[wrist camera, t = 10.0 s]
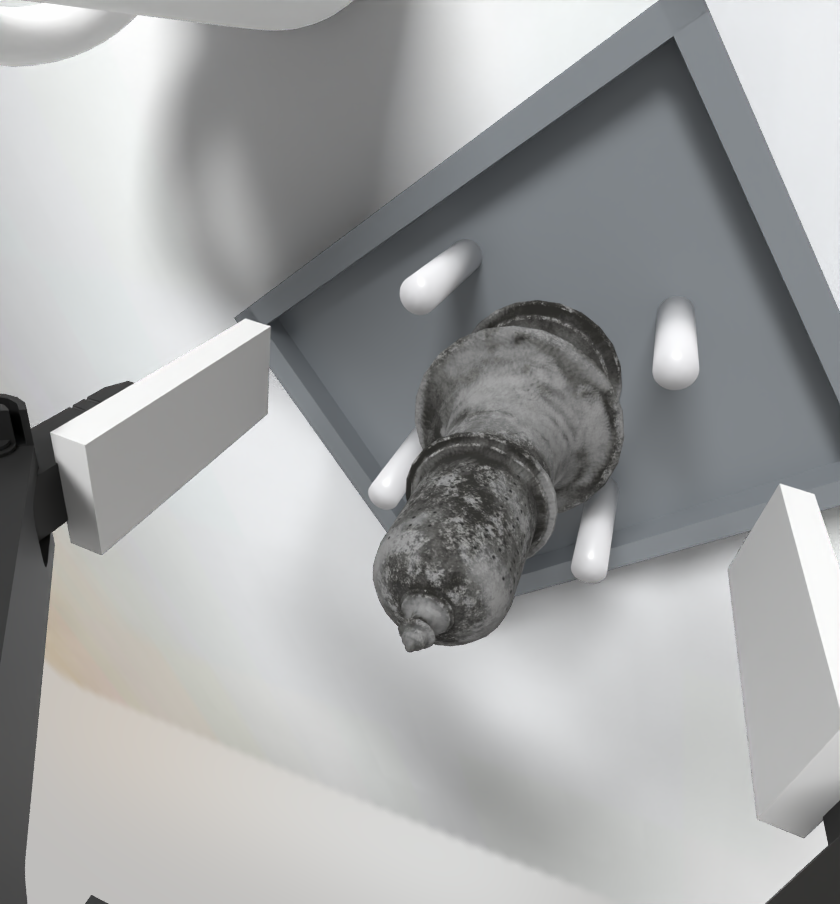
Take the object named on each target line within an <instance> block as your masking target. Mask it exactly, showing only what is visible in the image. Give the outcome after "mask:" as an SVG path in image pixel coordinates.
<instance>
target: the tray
mask: <svg viewBox="0 0 840 904" xmlns="http://www.w3.org/2000/svg"><path fill="white" fill-rule="evenodd" d="M533 300H541V301H548V302H555V303H561V304H563V305H566V306H568V307H570V308H573V309H575V310H577V311H580V312H582V313H583V314H584V315H586V316H587V317H588V318H590V319H591V320H592V321H593V322H595V323H596V324H597V325H598V326H600V327H601V329H602V330H603V332H604V333H605V334H606V336H607V337H608V338H609V340H610V341H611V342H612V344H613V346H614V348H615V351H616V354H617V356H618V359H619V362H620V364H621V377H622V389H621V393H620V397H619V402H620V405H621V407H622V410H623V422H624V442H623V446H622V450H621V454H620V458H619V462H618V464H617V466H616V468H615V469H614V471H613V473H612V474H611V476H610V478H609V479H608V481H607V482H606V484H605V485H604V486H603V487H602V488H601V489H600V490H599V491H597V492H596V493H595V494H594V495H593V496H592V497H591V498H590V499H589V500H587V501H586V502H584V503H582V504H580V505H578V506H576V507H574V508H572V509H570V510H568V511H566V512H562V513H558V514H557V518H556V523H555V527H554V531H553V532H552V534H551V536H550V538H549V539H548V541H547V543H546V544H545V545H544V546H543V547H542V548H541V549H540V550H539V551H538V552H537V553H535V554H534V555H533V556H532V557H530V558H528V559H526V561H525V564H524V567H523V571H522V574H521V577H520V580H519V583H518V586H517V589H516V593H515V596H518V595H522V594H526V593H529V592H533V591H536V590H540V589H543V588H547V587H551V586H554V585H558V584H561V583H565V582H569V581H572V580H576V579H578V580H580V581H582V582H584V583H589V584H594V583H598V582H601V581H602V580H603V579H604V578H605V577H606V575H607V571H608V570H611V569H615V568H619V567H622V566H626V565H629V564H633V563H637V562H640V561H644V560H647V559H651V558H654V557H658V556H662V555H665V554H669V553H672V552H676V551H679V550H683V549H687V548H690V547H694V546H697V545H701V544H705V543H708V542H712V541H715V540H719V539H722V538H726V537H730V536H733V535H737V534H740V533H744V532H747V531H751V530H752V528H753V527H754V525H755V523H756V522H757V520H758V518H759V517H760V515H761V513H762V512H763V510H764V508H765V507H766V505H767V503H768V502H769V500H770V498H771V497H772V495H773V494H774V492H775V490H776V489H777V487H778V485H779V484H783V485H786V486H790V487H793V488H796V489H799V490H803V491H806V492H809V493H812V494H815V497H816V500H817V503H818V506H819V509H820V511H823V510H826V509H830V508H833V507H837V506H840V311H839V309H838V307H837V305H836V302H835V300H834V298H833V295H832V293H831V291H830V288H829V286H828V284H827V281H826V279H825V277H824V275H823V272H822V270H821V268H820V265H819V263H818V261H817V258H816V256H815V254H814V251H813V249H812V247H811V245H810V242H809V240H808V238H807V235H806V233H805V231H804V228H803V226H802V224H801V221H800V219H799V217H798V215H797V212H796V210H795V208H794V205H793V203H792V201H791V198H790V196H789V194H788V191H787V189H786V187H785V185H784V182H783V180H782V178H781V175H780V173H779V171H778V168H777V166H776V164H775V161H774V159H773V157H772V155H771V152H770V150H769V148H768V145H767V143H766V141H765V138H764V136H763V134H762V131H761V129H760V127H759V125H758V122H757V120H756V118H755V115H754V113H753V111H752V108H751V106H750V104H749V101H748V99H747V97H746V95H745V92H744V90H743V88H742V85H741V83H740V81H739V78H738V76H737V74H736V71H735V69H734V67H733V64H732V62H731V60H730V58H729V55H728V53H727V51H726V48H725V46H724V44H723V41H722V39H721V37H720V34H719V32H718V30H717V28H716V25H715V23H714V21H713V18H712V16H711V14H710V11H709V9H708V7H707V4H706V2H705V0H659V1H657V2H656V3H655V4H653V5H652V6H651V7H649V8H648V9H647V10H645V11H644V12H643V13H641V14H640V15H639V16H637V17H636V18H635V19H633V20H632V21H631V22H629V23H628V24H627V25H625V26H624V27H623V28H621V29H620V30H619V31H617V32H616V33H615V34H613V35H612V36H611V37H609V38H608V39H607V40H605V41H604V42H603V43H601V44H600V45H599V46H597V47H596V48H595V49H593V50H592V51H591V52H589V53H588V54H587V55H585V56H584V57H583V58H581V59H580V60H579V61H577V62H576V63H574V64H573V65H572V66H570V67H569V68H568V69H566V70H565V71H564V72H562V73H561V74H560V75H558V76H557V77H556V78H554V79H553V80H552V81H550V82H549V83H548V84H546V85H545V86H544V87H542V88H541V89H540V90H538V91H537V92H536V93H534V94H533V95H532V96H530V97H529V98H528V99H526V100H525V101H524V102H522V103H521V104H520V105H518V106H517V107H516V108H514V109H513V110H512V111H510V112H509V113H508V114H506V115H505V116H504V117H502V118H501V119H500V120H498V121H497V122H496V123H494V124H493V125H492V126H490V127H489V128H488V129H486V130H485V131H484V132H482V133H481V134H480V135H478V136H477V137H476V138H474V139H473V140H472V141H470V142H469V143H468V144H466V145H465V146H463V147H462V148H461V149H459V150H458V151H457V152H455V153H454V154H453V155H451V156H450V157H449V158H447V159H446V160H445V161H443V162H442V163H441V164H439V165H438V166H437V167H435V168H434V169H433V170H431V171H430V172H429V173H427V174H426V175H425V176H423V177H422V178H421V179H419V180H418V181H417V182H415V183H414V184H413V185H411V186H410V187H409V188H407V189H406V190H405V191H403V192H402V193H401V194H399V195H398V196H397V197H395V198H394V199H393V200H391V201H390V202H389V203H387V204H386V205H385V206H383V207H382V208H381V209H379V210H378V211H377V212H375V213H374V214H373V215H371V216H370V217H369V218H367V219H366V220H365V221H363V222H362V223H361V224H359V225H358V226H357V227H355V228H354V229H352V230H351V231H350V232H348V233H347V234H346V235H344V236H343V237H342V238H340V239H339V240H338V241H336V242H335V243H334V244H332V245H331V246H330V247H328V248H327V249H326V250H324V251H323V252H322V253H320V254H319V255H318V256H316V257H315V258H314V259H312V260H311V261H310V262H308V263H307V264H306V265H304V266H303V267H302V268H300V269H299V270H298V271H296V272H295V273H294V274H292V275H291V276H290V277H288V278H287V279H286V280H284V281H283V282H282V283H280V284H279V285H278V286H276V287H275V288H274V289H272V290H271V291H270V292H268V293H267V294H266V295H264V296H263V297H262V298H260V299H259V300H258V301H256V302H255V303H254V304H252V305H251V306H250V307H248V308H247V309H246V310H244V311H243V312H241V313H240V314H239V315H237V316H236V317H235V320H236V321H237V323H239V322H240V321H242V320H244V319H249V320H252V321H255V322H258V323H262V324H265V325H268V326H271V335H270V361H269V368H270V369H271V370H272V372H273V373H274V375H275V376H276V377H277V379H278V380H279V382H280V383H281V384H282V386H283V387H284V389H285V390H286V391H287V393H288V394H289V396H290V397H291V398H292V400H293V401H294V403H295V404H296V405H297V407H298V408H299V410H300V411H301V412H302V414H303V415H304V417H305V418H306V419H307V421H308V422H309V424H310V425H311V427H312V428H313V429H314V431H315V432H316V434H317V435H318V436H319V438H320V439H321V441H322V442H323V443H324V445H325V446H326V448H327V449H328V450H329V452H330V453H331V455H332V456H333V457H334V459H335V460H336V462H337V463H338V464H339V466H340V467H341V469H342V470H343V471H344V473H345V474H346V476H347V477H348V478H349V480H350V481H351V483H352V484H353V485H354V487H355V488H356V490H357V491H358V492H359V494H360V495H361V497H362V498H363V500H364V501H365V502H366V504H367V505H368V507H369V508H370V509H371V511H372V512H373V514H374V515H375V516H376V518H377V519H378V521H379V522H380V523H381V525H382V526H383V528H384V529H385V530H386V532H388V530H389V529H390V527H391V526H392V524H393V523H394V521H395V520H396V518H397V517H398V515H399V513H400V512H401V510H402V509H403V507H404V506H405V504H406V503H407V500H406V478H407V476H408V473H409V470H410V468H411V465H412V463H413V461H414V460H415V459H416V458H417V456H418V455H419V454H420V453H421V451H422V450H423V449H422V447H421V445H420V442H419V438H418V433H417V429H416V425H415V404H416V395H417V393H418V390H419V387H420V384H421V381H422V378H423V375H424V374H425V372H426V371H427V370H428V368H429V367H430V365H431V364H432V363H433V361H434V360H435V359H436V357H437V356H438V355H439V354H440V353H441V352H442V351H444V350H445V349H446V348H448V347H449V346H450V345H451V344H453V343H454V342H455V341H457V340H458V339H459V338H462V337H464V336H467V335H469V334H471V333H472V331H473V330H474V329H475V327H476V326H477V325H478V324H479V323H480V322H481V321H482V320H484V319H485V318H486V317H487V316H489V315H490V314H491V313H493V312H494V311H495V310H498V309H500V308H503V307H505V306H508V305H510V304H513V303H516V302H524V301H533ZM515 596H514V597H515Z"/></svg>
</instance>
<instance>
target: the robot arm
mask: <svg viewBox="0 0 840 904" xmlns="http://www.w3.org/2000/svg"><path fill="white" fill-rule="evenodd" d="M270 335H271V326H268V325H265V324H262V323H258V322H255V321H252V320H249V319H244V320H242V321H240V322H239V323H237V324H235V325H233V326H232V327H230V328H228V329H227V330H225V331H223V332H221V333H220V334H218V335H216V336H215V337H213V338H211V339H209V340H208V341H206V342H204V343H203V344H201V345H199V346H197V347H196V348H194V349H192V350H191V351H189V352H187V353H185V354H184V355H182V356H180V357H179V358H177V359H175V360H173V361H172V362H170V363H168V364H167V365H165V366H163V367H161V368H160V369H158V370H156V371H155V372H153V373H151V374H149V375H148V376H146V377H144V378H143V379H141V380H139V381H137V382H136V383H133V382H130V381H126V382H123V383H119V384H115V385H112V386H108V387H105V388H103V389H101V390H99V391H98V392H96V393H94V394H92V395H90V396H89V397H87V400H85V399H83V400H81V401H80V402H78V403H76V404H74V405H73V407H72V408H70V407H69V408H67V409H65V410H64V411H62V412H60V413H58V414H56V415H55V416H53V417H51V418H49V419H47V420H46V421H44V422H42V423H40V424H39V425H37V426H35V427H33V428H30V423H29V418H28V413H27V409H26V405H25V402H23V401H22V400H20V399H19V398H18V397H14V396H11V395H7V394H0V904H27V895H26V886H25V856H26V845H27V834H28V824H29V813H30V802H31V792H32V781H33V771H34V760H35V749H36V738H37V728H38V717H39V707H40V696H41V685H42V675H43V664H44V654H45V643H46V632H47V622H48V611H49V600H50V590H51V579H52V568H53V558H54V547H55V543H54V538H53V533H52V532H53V531H54V530H56V529H57V528H58V527H60V526H61V525H62V524H64V523H65V522H66V521H67V525H68V530H69V535H70V541H71V543H73V544H75V545H78V546H80V547H83V548H85V549H88V550H90V551H93V552H95V553H98V554H100V555H103V554H104V553H105V552H106V551H107V550H109V549H110V548H111V547H112V546H113V545H114V544H116V543H117V542H118V541H119V540H120V539H122V538H123V537H124V536H125V535H126V534H127V533H129V532H130V531H131V530H132V529H133V528H134V527H136V526H137V525H138V524H139V523H140V522H141V521H143V520H144V519H145V518H146V517H147V516H148V515H150V514H151V513H152V512H153V511H154V510H156V509H157V508H158V507H159V506H160V505H161V504H163V503H164V502H165V501H166V500H167V499H168V498H170V497H171V496H172V495H173V494H174V493H175V492H177V491H178V490H179V489H180V488H181V487H183V486H184V485H185V484H186V483H187V482H188V481H190V480H191V479H192V478H193V477H194V476H195V475H197V474H198V473H199V472H200V471H201V470H202V469H204V468H205V467H206V466H207V465H208V464H209V463H211V462H212V461H213V460H214V459H215V458H217V457H218V456H219V455H220V454H221V453H222V452H224V451H225V450H226V449H227V448H228V447H229V446H231V445H232V444H233V443H234V442H235V441H236V440H238V439H239V438H240V437H241V436H242V435H244V434H245V433H246V432H247V431H248V430H249V429H251V428H252V427H253V426H254V425H255V424H256V423H258V422H259V421H260V420H261V419H262V418H263V417H265V416H266V415H267V414H268V388H269V361H270ZM728 576H729V585H730V593H731V602H732V610H733V619H734V627H735V636H736V644H737V653H738V662H739V670H740V679H741V687H742V696H743V704H744V713H745V721H746V730H747V738H748V747H749V755H750V764H751V773H752V781H753V790H754V798H755V807H756V815H757V820H760V821H762V822H765V823H767V824H770V825H772V826H775V827H777V828H780V829H782V830H785V831H787V832H790V833H792V834H795V835H797V836H799V837H802V838H805V837H806V836H807V835H808V834H809V833H810V832H811V831H812V830H814V829H815V828H816V827H817V826H818V825H819V824H820V823H821V822H822V821H824V826H825V831H826V836H827V841H828V846H827V847H826V848H825V849H824V850H823V851H822V852H821V853H819V854H818V855H817V856H816V857H815V858H814V859H813V860H812V861H811V862H810V863H808V864H807V865H806V866H805V867H804V868H803V869H802V870H801V871H800V872H799V873H798V874H796V876H795V877H793V878H792V879H791V880H790V881H789V882H788V883H787V884H786V885H785V886H784V887H783V888H782V889H780V890H779V891H778V892H777V893H776V894H775V895H774V896H773V897H772V898H771V899H770V900H769V901H767V902H766V903H765V904H840V567H839V564H838V561H837V558H836V556H835V553H834V550H833V547H832V544H831V541H830V538H829V535H828V532H827V529H826V526H825V523H824V521H823V518H822V515H821V512H820V509H819V506H818V503H817V500H816V497H815V494H812V493H809V492H806V491H803V490H799V489H796V488H793V487H790V486H786V485H783V484H779V485H778V487H777V489H776V490H775V492H774V494H773V495H772V497H771V498H770V500H769V502H768V503H767V505H766V507H765V508H764V510H763V512H762V513H761V515H760V517H759V518H758V520H757V522H756V523H755V525H754V527H753V528H752V530H751V531H750V533H749V535H748V536H747V538H746V540H745V541H744V543H743V545H742V546H741V548H740V550H739V551H738V553H737V555H736V556H735V558H734V560H733V561H732V563H731V564H730V566H729V568H728ZM85 904H108V903H106V902H104V901H102V900H100V899H98V898H96V897H94V896H93V895H91V896H90V898H89V899H88V901H87V902H86V903H85Z"/></svg>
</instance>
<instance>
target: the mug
mask: <svg viewBox="0 0 840 904" xmlns="http://www.w3.org/2000/svg"><path fill="white" fill-rule="evenodd" d="M23 1H31V2H39V3H42V4H38V5H33V6H26V7H0V66H11V67H17V66H33V65H39V64H45V63H51V62H56V61H60V60H63V59H67V58H70V57H73V56H76V55H78V54H81V53H83V52H86V51H88V50H90V49H92V48H94V47H96V46H98V45H100V44H101V43H103V42H105V41H106V40H108V39H109V38H111V37H112V36H114V35H115V34H117V33H118V32H119V31H120V30H122V29H123V28H124V27H125V26H126V25H128V24H129V23H130V22H131V21H132V20H133V19H134V18H135V17H136V16H137V15H142V16H150V17H158V18H166V19H174V20H182V21H190V22H198V23H206V24H214V25H221V26H229V27H237V28H245V29H256V30H268V31H280V30H291V29H298V28H302V27H305V26H309V25H312V24H316V23H319V22H321V21H323V20H325V19H327V18H329V17H331V16H333V15H335V14H336V13H337V12H339V11H340V10H342V9H343V8H345V7H346V6H348V5H349V4H350V3H351V2H352V1H353V0H23Z"/></svg>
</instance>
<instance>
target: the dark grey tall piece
mask: <svg viewBox="0 0 840 904" xmlns="http://www.w3.org/2000/svg"><path fill="white" fill-rule="evenodd" d="M621 389H622V377H621V364H620V362H619V359H618V356H617V354H616V351H615V348H614V346H613V344H612V342H611V341H610V340H609V338H608V337H607V336H606V334H605V333H604V332H603V330H602V329H601V327H600V326H598V325H597V324H596V323H595V322H593V321H592V320H591V319H590V318H588V317H587V316H586V315H584V314H583V313H582V312H580V311H577V310H575V309H573V308H570V307H568V306H566V305H563V304H561V303H555V302H548V301H541V300H533V301H524V302H516V303H513V304H510V305H508V306H505V307H503V308H500V309H498V310H495V311H494V312H493V313H491V314H490V315H489V316H487V317H486V318H485V319H484V320H482V321H481V322H480V323H479V324H478V325H477V326H476V327H475V329H474V330H473V331H472V333H471V334H469V335H467V336H464V337H462V338H459V339H458V340H457V341H455V342H454V343H453V344H451V345H450V346H449V347H448V348H446V349H445V350H444V351H442V352H441V353H440V354H439V355H438V356H437V357H436V359H435V360H434V361H433V363H432V364H431V365H430V367H429V368H428V370H427V371H426V372H425V374H424V375H423V378H422V381H421V384H420V387H419V390H418V393H417V395H416V404H415V425H416V429H417V433H418V438H419V442H420V445H421V447H422V449H423V450H422V451H421V453H420V454H419V455H418V456H417V458H416V459H415V460H414V461H413V463H412V465H411V468H410V470H409V473H408V476H407V478H406V500H407V503H406V504H405V506H404V507H403V509H402V510H401V512H400V513H399V515H398V517H397V518H396V520H395V521H394V523H393V524H392V526H391V527H390V529H389V530H388V532H387V534H386V535H385V537H384V538H383V540H382V541H381V543H380V546H379V549H378V551H377V554H376V557H375V561H374V564H373V581H374V585H375V589H376V592H377V595H378V598H379V601H380V603H381V605H382V607H383V608H384V610H385V612H386V614H387V615H388V616H389V617H390V618H391V619H392V620H393V622H394V623H395V624H396V625H397V626H399V627H398V630H399V634H400V636H401V638H402V642H403V644H404V645H405V649H406V651H407V652H413V651H419V650H421V649H426V648H428V647H430V646H432V645H433V644H435V645H444V646H456V645H464V644H467V643H470V642H473V641H476V640H478V639H481V638H483V637H486V636H487V635H489V634H490V633H491V632H492V631H494V630H495V629H496V628H497V627H498V626H499V625H500V623H501V622H502V620H503V619H504V617H505V616H506V614H507V612H508V611H509V609H510V607H511V605H512V602H513V599H514V596H515V593H516V589H517V586H518V583H519V580H520V577H521V574H522V571H523V567H524V564H525V561H526V559H528V558H530V557H532V556H533V555H534V554H535V553H537V552H538V551H539V550H540V549H541V548H542V547H543V546H544V545H545V544H546V543H547V541H548V539H549V538H550V536H551V534H552V532H553V531H554V527H555V523H556V518H557V514H558V513H562V512H566V511H568V510H570V509H572V508H574V507H576V506H578V505H580V504H582V503H584V502H586V501H587V500H589V499H590V498H591V497H592V496H593V495H594V494H595V493H596V492H597V491H599V490H600V489H601V488H602V487H603V486H604V485H605V484H606V482H607V481H608V479H609V478H610V476H611V474H612V473H613V471H614V469H615V468H616V466H617V464H618V462H619V458H620V454H621V450H622V446H623V442H624V422H623V410H622V407H621V405H620V402H619V397H620V393H621Z"/></svg>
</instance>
